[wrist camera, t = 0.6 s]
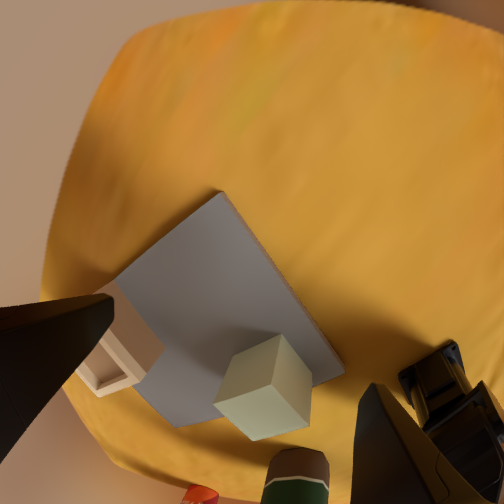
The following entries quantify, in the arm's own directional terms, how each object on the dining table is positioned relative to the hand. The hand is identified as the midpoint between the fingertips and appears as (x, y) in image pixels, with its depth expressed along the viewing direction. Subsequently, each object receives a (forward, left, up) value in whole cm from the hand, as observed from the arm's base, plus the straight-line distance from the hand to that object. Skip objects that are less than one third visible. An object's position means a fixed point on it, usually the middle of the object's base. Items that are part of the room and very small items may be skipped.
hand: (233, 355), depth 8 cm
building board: (-4, +12, -13) cm, 19 cm away
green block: (-9, +6, -12) cm, 16 cm away
